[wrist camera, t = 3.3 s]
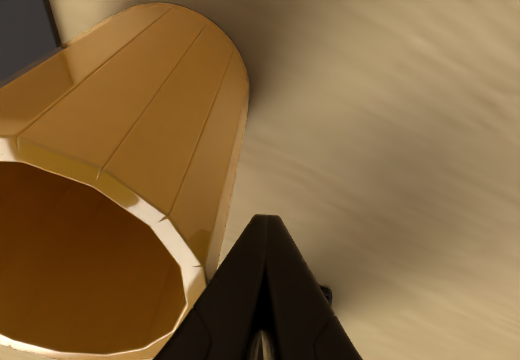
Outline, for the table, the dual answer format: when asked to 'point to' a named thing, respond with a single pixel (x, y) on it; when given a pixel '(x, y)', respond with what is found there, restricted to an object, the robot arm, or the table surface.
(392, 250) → the table surface
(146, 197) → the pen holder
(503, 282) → the table surface
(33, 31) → the mat
